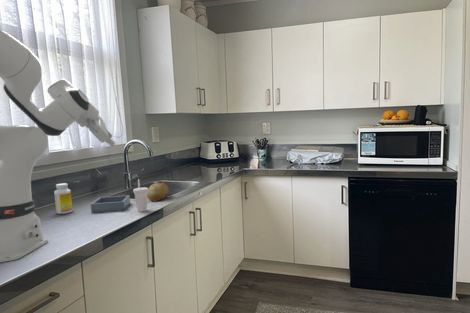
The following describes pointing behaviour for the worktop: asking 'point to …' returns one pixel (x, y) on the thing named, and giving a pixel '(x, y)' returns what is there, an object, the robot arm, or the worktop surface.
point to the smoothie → (141, 197)
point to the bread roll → (157, 191)
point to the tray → (110, 204)
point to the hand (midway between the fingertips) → (112, 140)
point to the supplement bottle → (63, 199)
